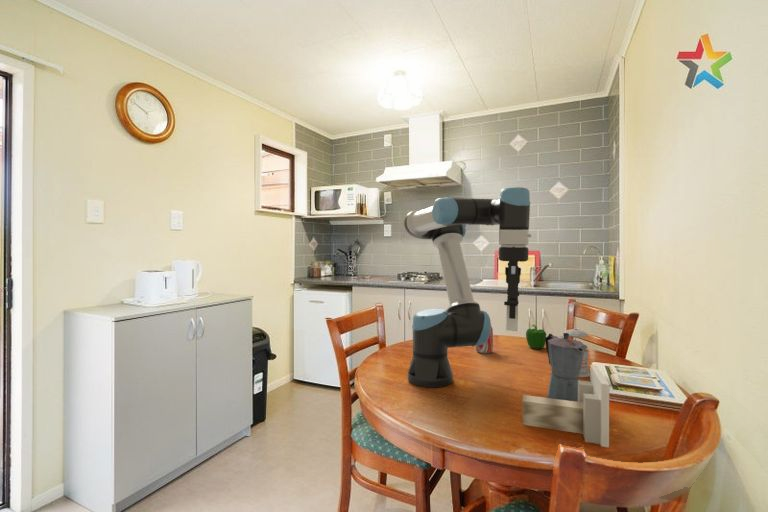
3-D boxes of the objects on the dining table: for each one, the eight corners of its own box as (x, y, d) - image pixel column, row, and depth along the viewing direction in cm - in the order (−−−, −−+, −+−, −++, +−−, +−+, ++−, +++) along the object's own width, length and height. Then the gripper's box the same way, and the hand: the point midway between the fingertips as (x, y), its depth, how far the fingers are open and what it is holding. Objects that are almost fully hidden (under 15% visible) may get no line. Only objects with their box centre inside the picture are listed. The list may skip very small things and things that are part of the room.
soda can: (472, 350, 158) (472, 322, 158) (486, 348, 160) (486, 321, 160) (481, 354, 151) (481, 326, 151) (496, 353, 154) (496, 324, 153)
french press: (594, 378, 123) (594, 304, 123) (556, 374, 127) (556, 303, 126) (588, 369, 132) (588, 300, 132) (553, 366, 136) (553, 299, 136)
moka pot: (569, 414, 97) (569, 339, 96) (530, 392, 112) (530, 327, 111) (598, 409, 99) (598, 336, 99) (556, 389, 114) (556, 325, 114)
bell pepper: (548, 350, 157) (548, 327, 156) (527, 349, 158) (527, 326, 158) (544, 345, 165) (544, 323, 164) (524, 344, 167) (524, 323, 166)
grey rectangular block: (522, 424, 92) (522, 400, 91) (522, 417, 95) (522, 394, 95) (595, 435, 86) (595, 410, 86) (592, 427, 90) (592, 403, 89)
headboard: (586, 443, 82) (586, 382, 82) (577, 416, 95) (577, 363, 95) (609, 447, 81) (609, 384, 80) (596, 419, 94) (596, 365, 93)
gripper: (531, 248, 85) (528, 337, 86) (526, 244, 108) (524, 315, 110) (497, 247, 87) (495, 335, 89) (500, 244, 111) (498, 313, 112)
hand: (511, 324), depth 99 cm, fingers open, 13 cm apart
